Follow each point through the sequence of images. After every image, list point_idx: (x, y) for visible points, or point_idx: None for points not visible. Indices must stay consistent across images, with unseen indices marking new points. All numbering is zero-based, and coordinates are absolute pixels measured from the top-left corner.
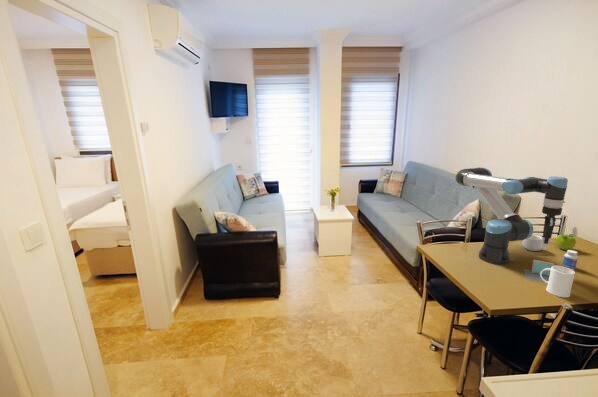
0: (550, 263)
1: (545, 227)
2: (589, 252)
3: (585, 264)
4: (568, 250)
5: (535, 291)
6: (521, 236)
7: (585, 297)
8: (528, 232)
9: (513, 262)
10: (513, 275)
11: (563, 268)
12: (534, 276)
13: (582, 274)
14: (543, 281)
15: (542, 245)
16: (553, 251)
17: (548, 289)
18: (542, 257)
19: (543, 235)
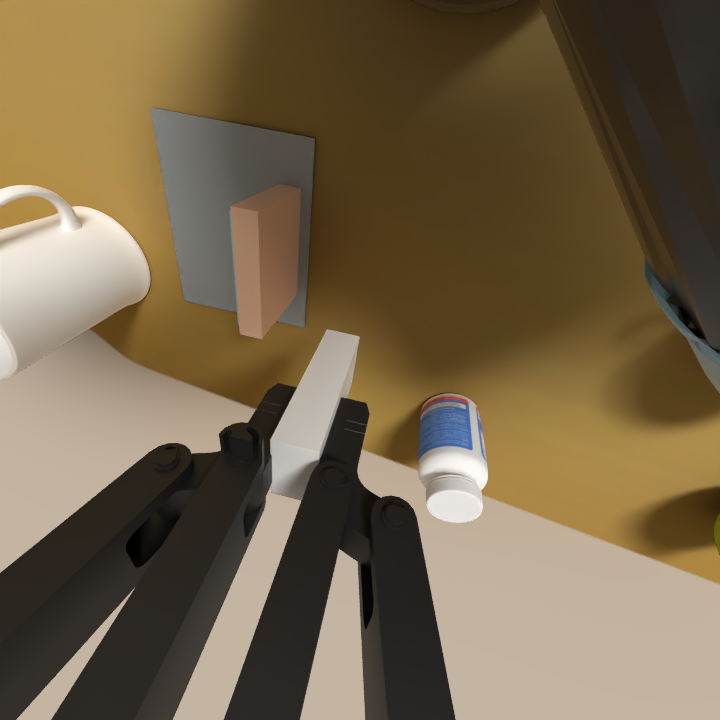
0: (242, 318)
1: (238, 685)
2: (680, 561)
3: (513, 488)
4: (469, 498)
5: (12, 132)
6: (592, 127)
7: (143, 351)
8: (697, 321)
9: (439, 65)
10: (143, 3)
11: (22, 343)
12: (220, 186)
13: (383, 432)
14: (179, 223)
15: (315, 356)
16: (714, 441)
17: (58, 213)
18: (595, 344)
19: (316, 467)
